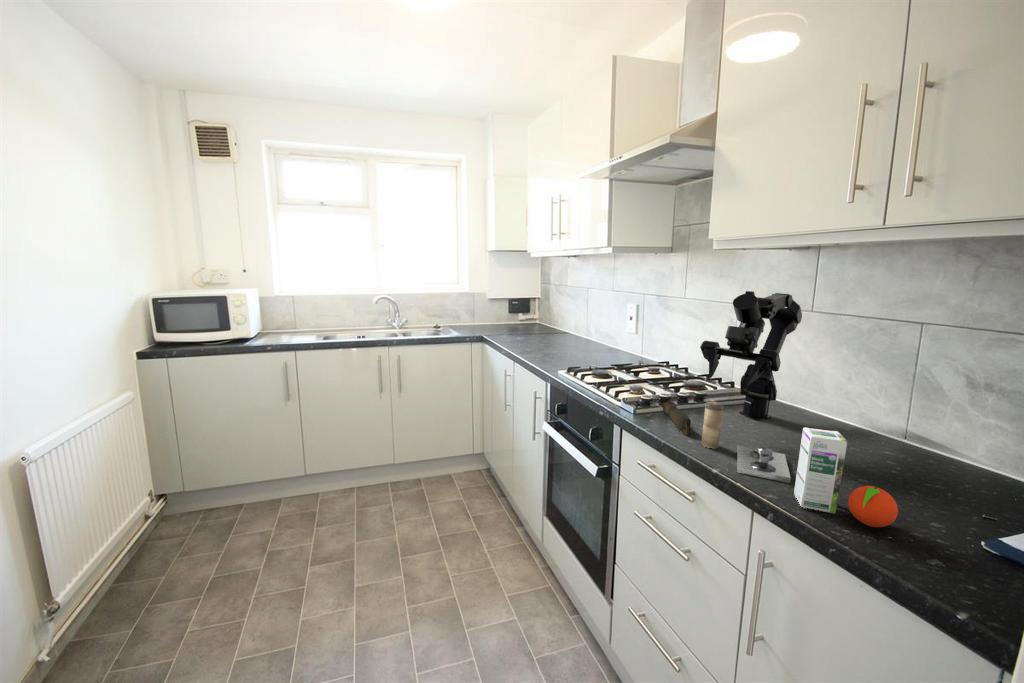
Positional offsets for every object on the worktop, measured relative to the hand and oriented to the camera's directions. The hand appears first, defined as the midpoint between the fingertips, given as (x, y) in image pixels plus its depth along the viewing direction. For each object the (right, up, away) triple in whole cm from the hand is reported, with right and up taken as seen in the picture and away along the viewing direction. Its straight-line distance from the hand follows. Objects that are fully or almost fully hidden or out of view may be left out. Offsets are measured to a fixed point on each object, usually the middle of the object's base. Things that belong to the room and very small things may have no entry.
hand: (727, 380), depth 114 cm
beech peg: (-6, -16, -2) cm, 17 cm away
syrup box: (+3, -21, -28) cm, 36 cm away
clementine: (+8, -23, -35) cm, 43 cm away
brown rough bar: (-8, -14, +13) cm, 20 cm away
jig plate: (+2, -18, -12) cm, 22 cm away
